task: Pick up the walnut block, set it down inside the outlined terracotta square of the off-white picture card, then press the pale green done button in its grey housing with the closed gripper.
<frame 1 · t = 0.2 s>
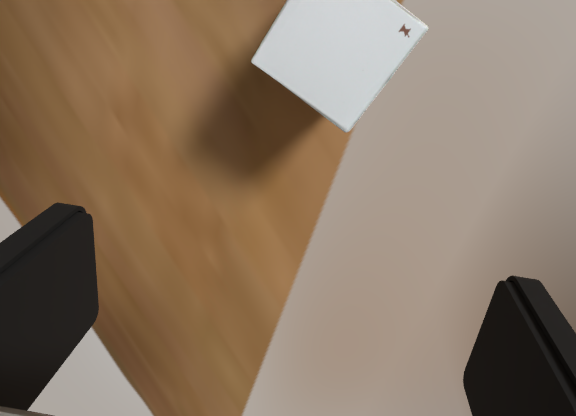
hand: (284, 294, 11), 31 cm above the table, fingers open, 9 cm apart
supplement box: (340, 29, 37), on the table
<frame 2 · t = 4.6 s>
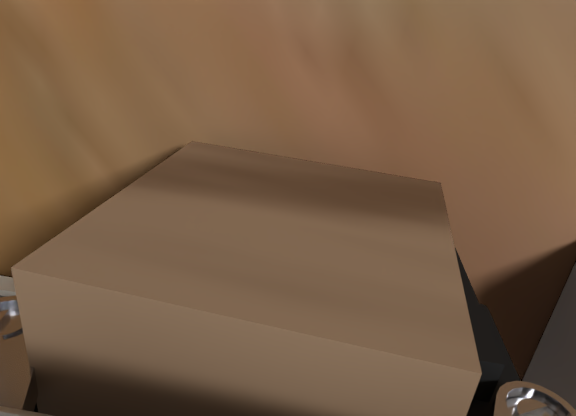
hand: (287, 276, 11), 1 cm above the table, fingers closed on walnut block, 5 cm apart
walnut block: (297, 267, 11), point 1 cm above the table, tilted 6°, touching gripper, picture card
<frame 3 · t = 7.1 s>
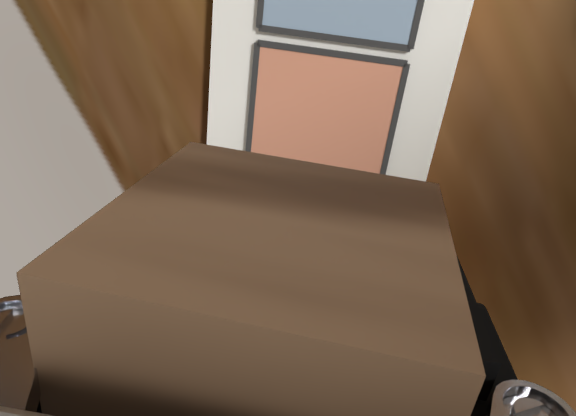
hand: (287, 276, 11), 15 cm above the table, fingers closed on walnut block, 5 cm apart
picture card: (333, 44, 23), on the table
walnut block: (296, 267, 11), point 15 cm above the table, touching gripper
when the fingers open (3 cm above the table, at t = 9.6 s): walnut block drops 2 cm, resting on picture card.
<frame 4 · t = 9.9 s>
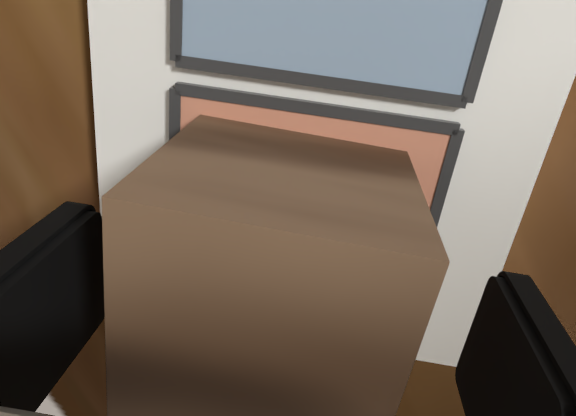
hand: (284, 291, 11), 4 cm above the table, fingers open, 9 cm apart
picture card: (318, 89, 12), on the table
walnut block: (287, 224, 13), point 1 cm above the table, touching picture card
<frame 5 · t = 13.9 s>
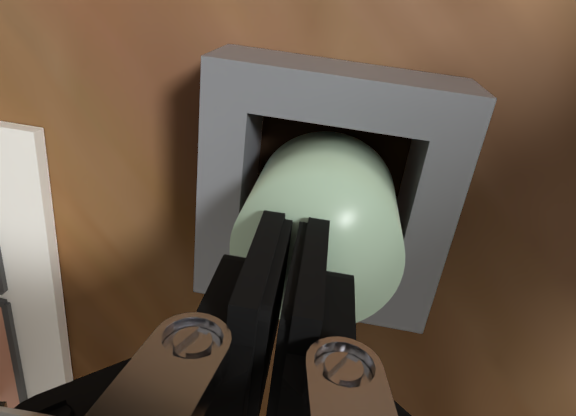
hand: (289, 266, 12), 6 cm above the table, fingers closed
button housing: (329, 173, 17), on the table
done button: (320, 224, 13), point 4 cm above the table, slide at 0.1 cm, touching gripper
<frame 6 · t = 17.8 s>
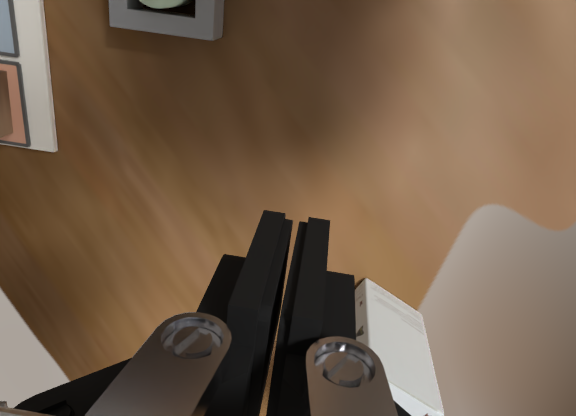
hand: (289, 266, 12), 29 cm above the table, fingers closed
supplement box: (371, 316, 48), on the table
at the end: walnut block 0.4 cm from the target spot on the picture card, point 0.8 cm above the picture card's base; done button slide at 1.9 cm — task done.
